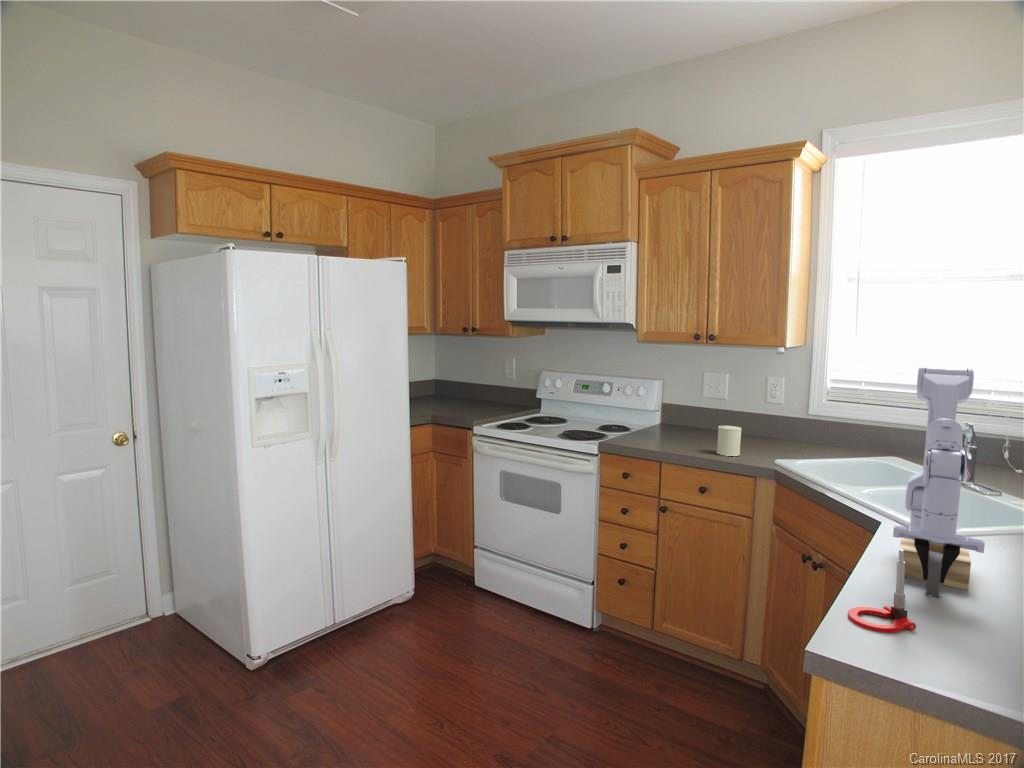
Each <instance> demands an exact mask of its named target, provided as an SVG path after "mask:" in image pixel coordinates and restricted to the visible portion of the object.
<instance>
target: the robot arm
mask: <svg viewBox="0 0 1024 768" xmlns="http://www.w3.org/2000/svg"><path fill="white" fill-rule="evenodd" d="M974 373H975V372H974V369H973V368H971V367H970V366H969V367H968V366H967V367H957V366H952V367H951V366H934V365H933V366H931V365H925V364H922V365H920V366H919V367H918V371H917V379H916V380H917V382H916V396H917V399H918V400H921V401H923V402H925V403H926V405H927V408H928V414H927V423H926V433H925V434H926V435H925V443H924V444H925V446H924V457H923V466H922V471H919V472H918V473H916V474H913V475H912V476H910V477H909V479H908V480H907V485H906V490H905V499H904V500H905V501H904V502H905V503H904V508H905V510H906V511H907V512H910V519H909V520H910V521H909V526H904V525H903V526H901V525H894V526H893V532H892V533H893V534H892V537H893V538H901V537H902V538H907V539H913V540H915V542H914V545H915V548H916V551H917V553H918V556H919V558H920V561H921V565H922V570H923V579H924V580H927V577H928V557H929V545H930V544H929V542H930V543H935V544H941V545H943V557H942V567H941V577H940V583H944V580H945V577H946V574H947V572H948V570H949V568H950V567H951V565H952V564H953V562H954V561H955V559H956V558H957V557H958V556H959V554H960V548H963V549H968V551H969V550H970V551H974V552H975V551H976V553H980V554H984V553H985V544H986V543H985V541H984V540H982V539H977V538H972V537H970V536H969V537H968V536H964V535H961V534H957V530H958V529H957V528H958V518H959V507H960V499H961V498H960V497H961V490H962V489H961V488H962V483H963V482H964V481H965V478H966V472H967V462H968V461H967V455H966V451H965V448H964V447H963V427H962V425H961V424H960V423H959V422H958V421H956V416H957V411H958V405H959V404H962V403H963V404H964V403H966V402H967V400H968V399H969V398H970V396H971V395H972V393H973V388H974V381H975V379H974V378H975V376H974V375H975V374H974ZM960 480H961V481H960ZM924 580H923V581H924Z"/></svg>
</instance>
